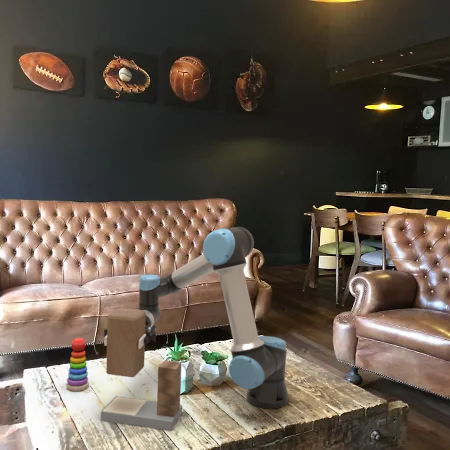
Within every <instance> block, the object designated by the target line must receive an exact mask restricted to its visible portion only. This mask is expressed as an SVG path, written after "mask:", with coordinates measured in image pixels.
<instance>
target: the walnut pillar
mask: <svg viewBox="0 0 450 450" xmlns="http://www.w3.org/2000/svg"><path fill="white" fill-rule="evenodd" d="M181 383H182V362H180V361H172V360H163V361H162V362H161V363H160V364H159V365H158V366H157V388H156V389H157V391H156V392H157V393H156V394H157V395H156V397H157V398H156V402H157V415H161V416H169V417H175V416H176V414H177V413H178V411H179V409H180V405H181V387H182V386H181V385H182V384H181Z"/></svg>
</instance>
